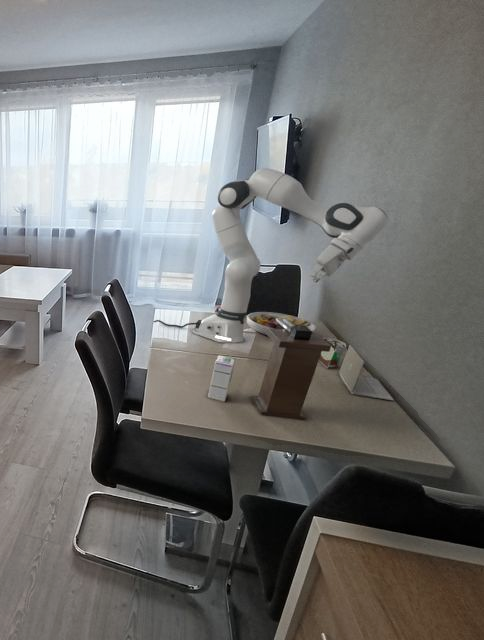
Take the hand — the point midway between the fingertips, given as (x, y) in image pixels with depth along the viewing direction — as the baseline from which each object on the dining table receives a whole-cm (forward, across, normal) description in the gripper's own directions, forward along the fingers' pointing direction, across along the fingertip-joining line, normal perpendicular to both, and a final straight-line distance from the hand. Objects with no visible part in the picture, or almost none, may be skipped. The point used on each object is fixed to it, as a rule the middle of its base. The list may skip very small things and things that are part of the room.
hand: (312, 278), depth 160 cm
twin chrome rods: (+20, +32, +14) cm, 40 cm away
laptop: (+20, -12, +39) cm, 45 cm away
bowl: (+22, -52, -6) cm, 57 cm away
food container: (+21, -26, +24) cm, 41 cm away
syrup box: (+52, +34, +14) cm, 63 cm away
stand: (+42, +27, +28) cm, 57 cm away
